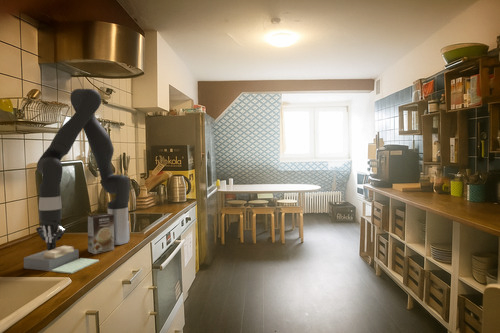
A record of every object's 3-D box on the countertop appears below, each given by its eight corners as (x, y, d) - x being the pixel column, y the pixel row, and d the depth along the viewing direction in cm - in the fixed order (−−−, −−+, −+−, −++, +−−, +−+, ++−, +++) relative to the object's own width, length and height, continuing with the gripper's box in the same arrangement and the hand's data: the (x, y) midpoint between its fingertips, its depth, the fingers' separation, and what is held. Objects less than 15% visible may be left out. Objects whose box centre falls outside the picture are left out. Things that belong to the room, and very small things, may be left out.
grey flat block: (55, 256, 134) (55, 247, 134) (78, 259, 131) (78, 249, 131) (23, 268, 120) (23, 257, 120) (49, 271, 117) (49, 260, 117)
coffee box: (94, 254, 136) (93, 217, 136) (87, 251, 141) (86, 215, 140) (114, 249, 144) (114, 214, 143) (107, 247, 148) (107, 212, 147)
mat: (80, 259, 130) (80, 258, 130) (99, 261, 128) (99, 259, 128) (51, 271, 117) (51, 269, 117) (71, 273, 115) (71, 272, 115)
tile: (63, 250, 129) (63, 245, 129) (73, 251, 128) (73, 246, 128) (44, 257, 121) (44, 252, 120) (54, 258, 119) (54, 253, 119)
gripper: (71, 207, 127) (72, 250, 127) (45, 205, 130) (46, 247, 131) (55, 210, 119) (56, 255, 120) (28, 208, 123) (29, 252, 124)
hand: (51, 251), depth 125 cm, fingers closed
